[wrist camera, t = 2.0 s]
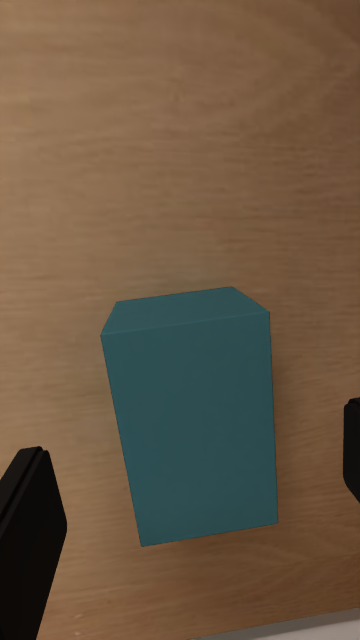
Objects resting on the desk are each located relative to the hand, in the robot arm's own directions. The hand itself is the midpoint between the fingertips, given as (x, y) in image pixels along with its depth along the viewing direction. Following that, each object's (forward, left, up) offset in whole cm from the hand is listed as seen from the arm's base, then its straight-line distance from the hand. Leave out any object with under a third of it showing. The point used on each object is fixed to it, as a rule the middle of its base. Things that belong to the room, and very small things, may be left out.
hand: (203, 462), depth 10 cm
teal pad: (0, 0, -5) cm, 5 cm away
